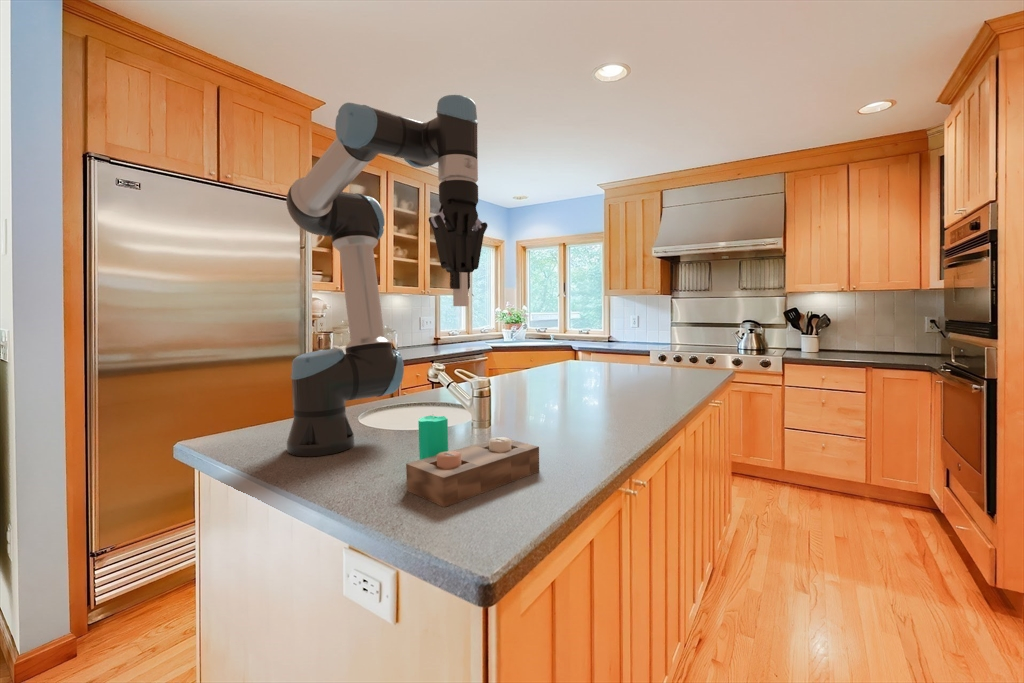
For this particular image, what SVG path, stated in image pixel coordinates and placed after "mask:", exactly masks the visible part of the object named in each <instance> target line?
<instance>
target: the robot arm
mask: <svg viewBox="0 0 1024 683" xmlns="http://www.w3.org/2000/svg"><path fill="white" fill-rule="evenodd" d="M435 113H436V117H435V118H433V119H431V120H428V121H427V122H423V121H422V122H421V121H418V120H415V119H412V118H408V117H405V116H401V115H397V114H394V113H390V112H387V111H384V110H381V109H377V108H374V107H371V106H368V105H366V104H358V103H354V102H345V103H343V104H342V105H341V106H340V107H339V109H338V112H337V116H336V118H335V125H334V126H335V127H334V128H335V129H334V130H335V134H336V138H334V140H333V141H332V143H331V144H329V146H328V148H327V149H326V151H325V152H323V154H322V155H321V156H320V157H319V159H318V160H317V161H316V163H315V164H314V165H313V166H312V168H311V169H310V170H309V172H308V173H307V174H306V175H305V176H304V177H300V178H298V179H296V180H295V181H294V182H293V183H292V185H290V187H289V189H288V192H287V194H286V207H287V211H288V214H289V215H290V218H291V219H292V220H293V222H294V223H295V224H296V225H297V226H298V227H299V228H300V229H302V230H304V231H305V232H308V233H310V234H313V235H315V236H323V237H331V244H332V247H333V248H335V249H336V250H337V251H338V252H339V258H340V266H341V267H340V268H341V275H342V281H343V282H342V283H343V289H344V290H343V291H344V299H345V305H346V307H345V308H346V314H347V322H348V330H349V340H350V341H349V342H348V344H347V345H346V346H345V352H344V351H343V349H341V348H330V349H329V348H328V349H320V350H316V351H310V352H305V353H302V354H300V355H298V356H296V357H295V358H293V360H292V363H291V375H290V378H291V386H292V407H293V408H292V409H293V420H292V424H291V427H290V431H289V435H288V437H287V440H286V452H287V453H288V454H289V453H290V454H289V455H291V454H292V456H295V455H296V456H297V457H320V456H328V455H332V454H337V453H341V452H344V451H347V450H349V449H351V448H353V447H354V446H355V435H354V432H353V429H352V427H351V424H350V422H349V419H348V417H347V414H346V402H347V401H355V400H362V399H368V398H369V399H370V398H375V397H376V398H381V397H383V396H387V395H393V393H395V392H396V391H397V390H398V389H399V388H400V386H401V384H402V382H403V379H404V371H405V367H404V366H405V364H404V360H403V356H401V352H399V351H398V350H396V349H393V345H392V341H390V340H389V339H388V338H387V337H386V335H385V329H384V322H383V313H382V306H381V298H380V292H379V291H380V290H379V283H378V277H377V276H378V275H377V267H376V261H375V260H376V259H375V252H374V249H375V248H376V247H377V246H378V244H379V240H380V239H381V238H382V236H383V234H384V231H385V228H384V227H385V216H384V211H383V209H382V207H381V204H380V203H379V202H378V201H377V200H376V199H375V198H374V197H372V196H368V195H365V194H361V193H359V192H358V193H353V192H347V191H344V190H345V189H346V188H347V187H348V186H349V185H350V184H351V183H352V182H353V181H354V180H355V178H356V177H358V176H359V174H360V173H361V172H363V170H364V169H365V168H366V167H367V166H368V165H369V164H370V163H371V162H372V161H373V160H375V159H376V157H377V156H378V155H379V154H381V155H386V156H391V157H395V158H400V159H403V160H404V161H405V162H406V163H407V164H409V165H410V166H411V167H413V168H417V169H418V168H419V169H421V168H427V167H429V166H430V167H431V166H433V165H435V164H436V163H437V166H438V167H437V169H438V171H437V172H438V181H439V182H440V183H439V184H438V201H439V204H440V208H439V209H438V212H437V214H436V215H433V216H429V218H428V222H429V224H430V227H431V228H432V230H433V235H434V240H435V244H436V249H437V254H438V258H439V262H440V263H439V264H440V267H441V268H442V269H445V271H446V273H448V274H449V275H450V276H449V277H450V278H449V280H450V289H452V298H453V300H452V303H453V305H452V306H453V307H469V294H468V293H469V289H470V288H471V273H473V272H474V271H475V270H478V269H479V266H480V265H479V264H480V259H481V253H482V247H483V241H484V234H485V233H486V230H487V229H488V223H487V222H482V221H481V219H480V218H479V213H478V210H477V206H478V204H479V185H478V184H477V182H478V181H479V177H478V176H479V175H478V174H479V172H478V171H479V169H478V168H479V166H478V124H479V121H478V115H477V105H476V103H475V102H474V100H473V99H471V98H470V97H468V96H464V95H463V94H462V95H461V94H448V95H445V96H441V97H440V99H438V101H437V106H436V112H435ZM296 456H295V457H296Z"/></svg>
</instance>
